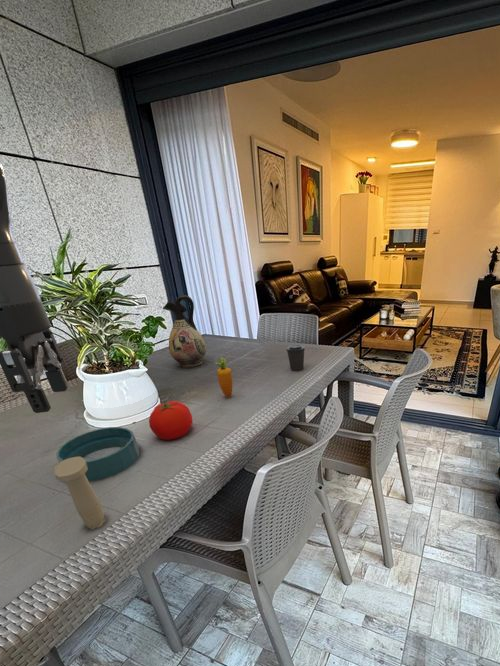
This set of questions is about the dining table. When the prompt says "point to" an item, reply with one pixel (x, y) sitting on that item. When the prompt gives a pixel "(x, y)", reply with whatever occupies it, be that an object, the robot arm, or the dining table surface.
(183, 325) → the ceramic jug
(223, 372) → the carrot
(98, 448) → the teal ring
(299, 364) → the coffee cup
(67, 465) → the handle
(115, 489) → the dining table surface
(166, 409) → the tomato
